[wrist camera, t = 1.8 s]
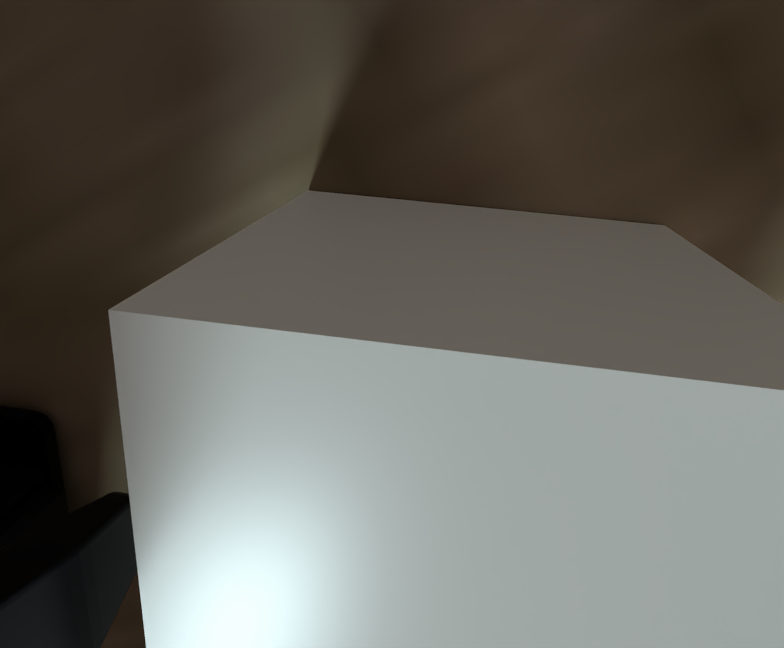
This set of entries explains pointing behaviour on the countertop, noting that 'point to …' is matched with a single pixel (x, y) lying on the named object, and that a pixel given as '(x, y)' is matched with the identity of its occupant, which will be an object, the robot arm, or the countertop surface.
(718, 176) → the countertop surface
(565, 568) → the matte white cube
